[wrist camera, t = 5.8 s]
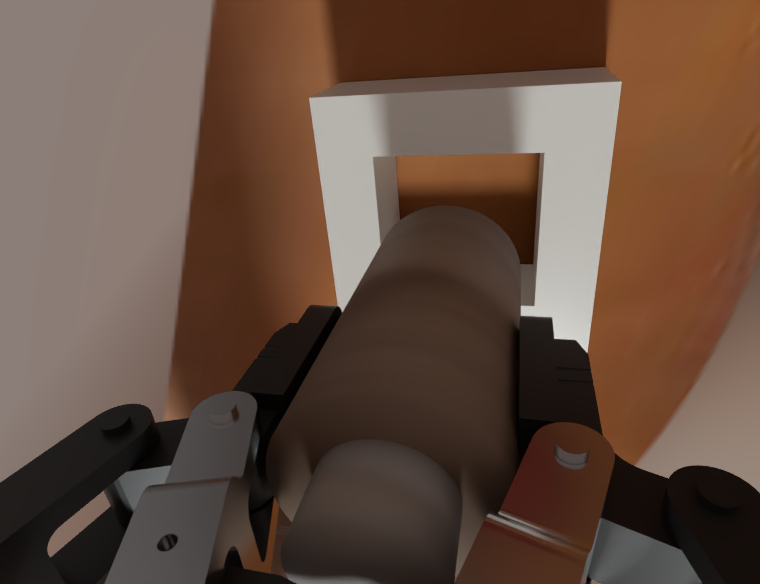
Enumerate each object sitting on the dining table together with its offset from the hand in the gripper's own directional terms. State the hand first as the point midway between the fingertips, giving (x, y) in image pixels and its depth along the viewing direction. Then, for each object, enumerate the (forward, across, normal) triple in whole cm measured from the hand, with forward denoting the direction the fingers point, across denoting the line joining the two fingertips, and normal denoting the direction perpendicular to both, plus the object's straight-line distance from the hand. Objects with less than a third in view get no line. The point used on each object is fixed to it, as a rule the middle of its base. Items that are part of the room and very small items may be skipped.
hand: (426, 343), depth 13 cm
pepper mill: (+4, 0, 0) cm, 4 cm away
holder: (+10, 0, 0) cm, 10 cm away
